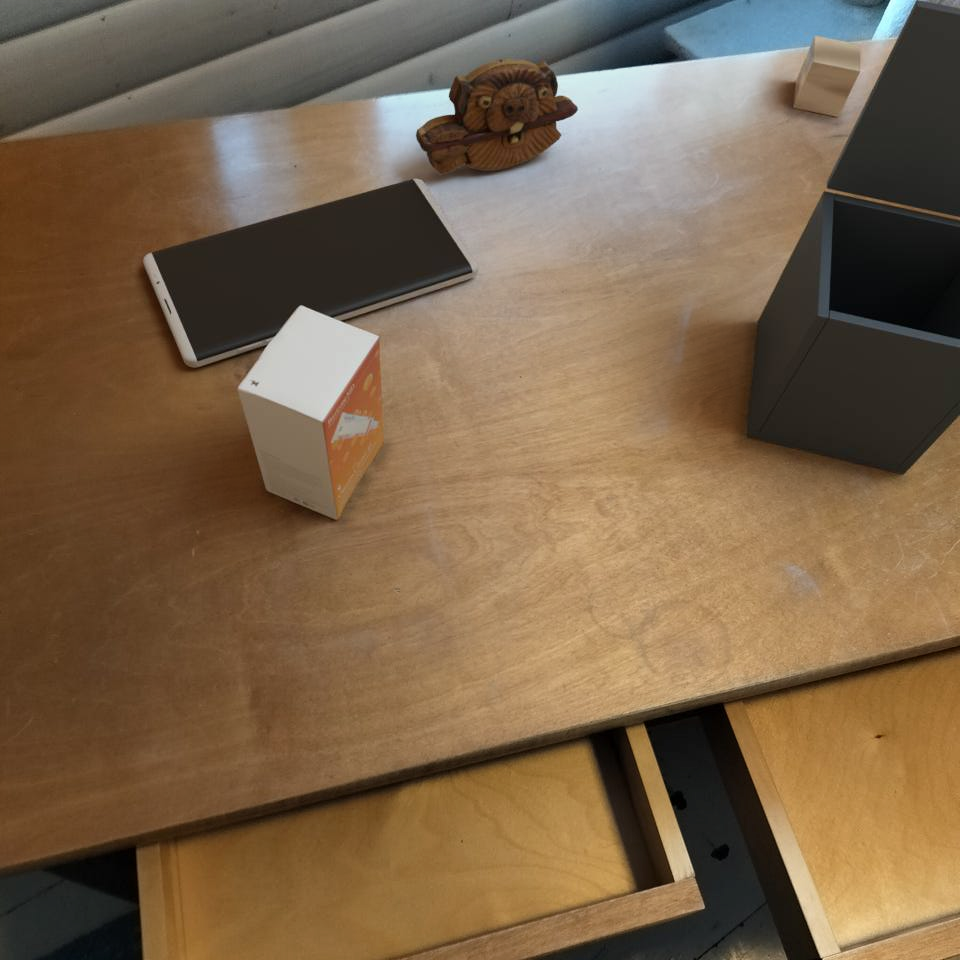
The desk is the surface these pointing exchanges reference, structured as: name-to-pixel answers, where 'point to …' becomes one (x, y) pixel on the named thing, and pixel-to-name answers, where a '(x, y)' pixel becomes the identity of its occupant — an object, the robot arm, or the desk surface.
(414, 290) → the smartphone
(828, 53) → the block
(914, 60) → the lid
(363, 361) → the small box
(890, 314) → the chest
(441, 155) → the wooden carving
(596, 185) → the desk surface
